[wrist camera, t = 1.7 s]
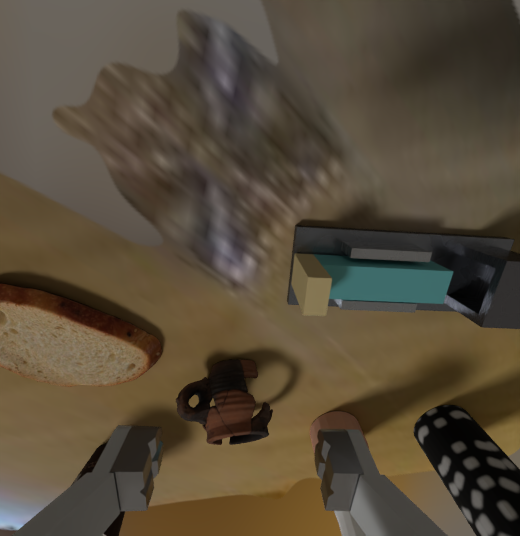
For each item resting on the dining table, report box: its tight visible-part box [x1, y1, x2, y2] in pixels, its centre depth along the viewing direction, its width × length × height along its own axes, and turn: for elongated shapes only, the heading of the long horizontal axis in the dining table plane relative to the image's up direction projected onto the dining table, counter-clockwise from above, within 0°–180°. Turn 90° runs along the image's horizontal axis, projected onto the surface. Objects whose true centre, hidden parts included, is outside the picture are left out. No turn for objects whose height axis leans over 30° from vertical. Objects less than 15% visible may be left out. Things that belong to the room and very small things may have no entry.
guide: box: [287, 225, 520, 329], centre depth 28 cm, size 9×24×6 cm, turn 86°
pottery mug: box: [176, 359, 273, 445], centre depth 33 cm, size 12×10×8 cm
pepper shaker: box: [310, 411, 369, 536], centre depth 30 cm, size 7×7×19 cm
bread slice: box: [0, 283, 162, 387], centre depth 31 cm, size 18×18×4 cm
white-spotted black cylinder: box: [414, 405, 520, 536], centre depth 30 cm, size 8×8×20 cm
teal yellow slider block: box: [291, 253, 453, 316], centre depth 26 cm, size 4×15×7 cm, turn 86°
